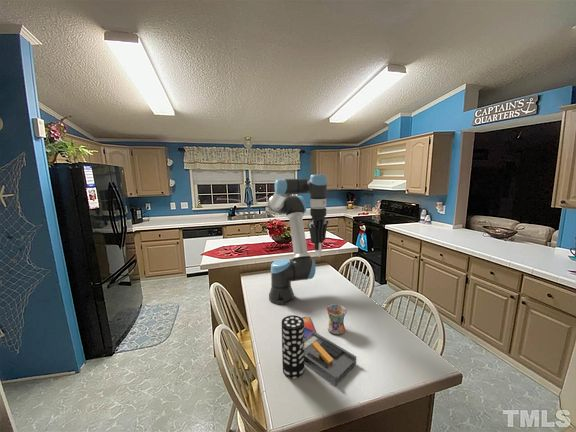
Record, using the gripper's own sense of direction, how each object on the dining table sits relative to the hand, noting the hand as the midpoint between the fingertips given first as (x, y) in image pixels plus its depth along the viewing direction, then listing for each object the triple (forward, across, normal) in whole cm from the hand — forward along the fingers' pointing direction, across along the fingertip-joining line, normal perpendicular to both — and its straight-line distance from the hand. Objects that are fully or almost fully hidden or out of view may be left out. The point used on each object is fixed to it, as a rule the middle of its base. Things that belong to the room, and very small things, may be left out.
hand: (318, 255), depth 117 cm
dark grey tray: (+34, -19, -18) cm, 43 cm away
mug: (+35, +1, -10) cm, 36 cm away
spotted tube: (+35, -31, -14) cm, 48 cm away
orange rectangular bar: (+30, -21, -19) cm, 41 cm away
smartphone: (+35, -9, 0) cm, 36 cm away
